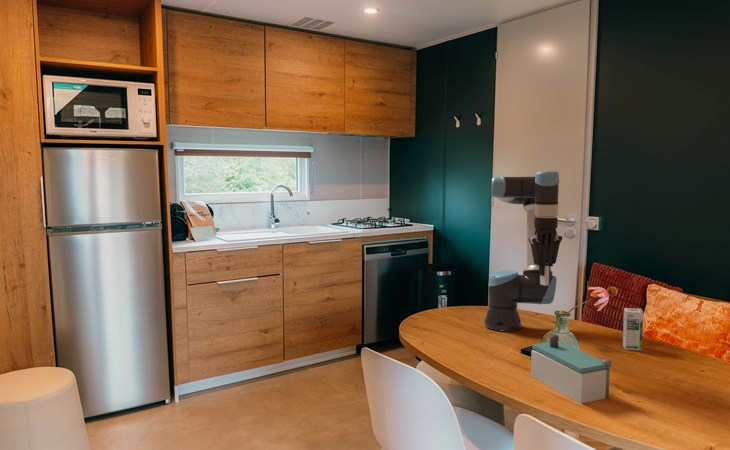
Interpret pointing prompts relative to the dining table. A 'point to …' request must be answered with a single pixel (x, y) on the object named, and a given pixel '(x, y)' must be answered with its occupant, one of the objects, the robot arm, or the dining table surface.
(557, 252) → the robot arm
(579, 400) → the grey planter box
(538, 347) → the lid
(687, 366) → the dining table surface
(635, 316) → the syrup box
